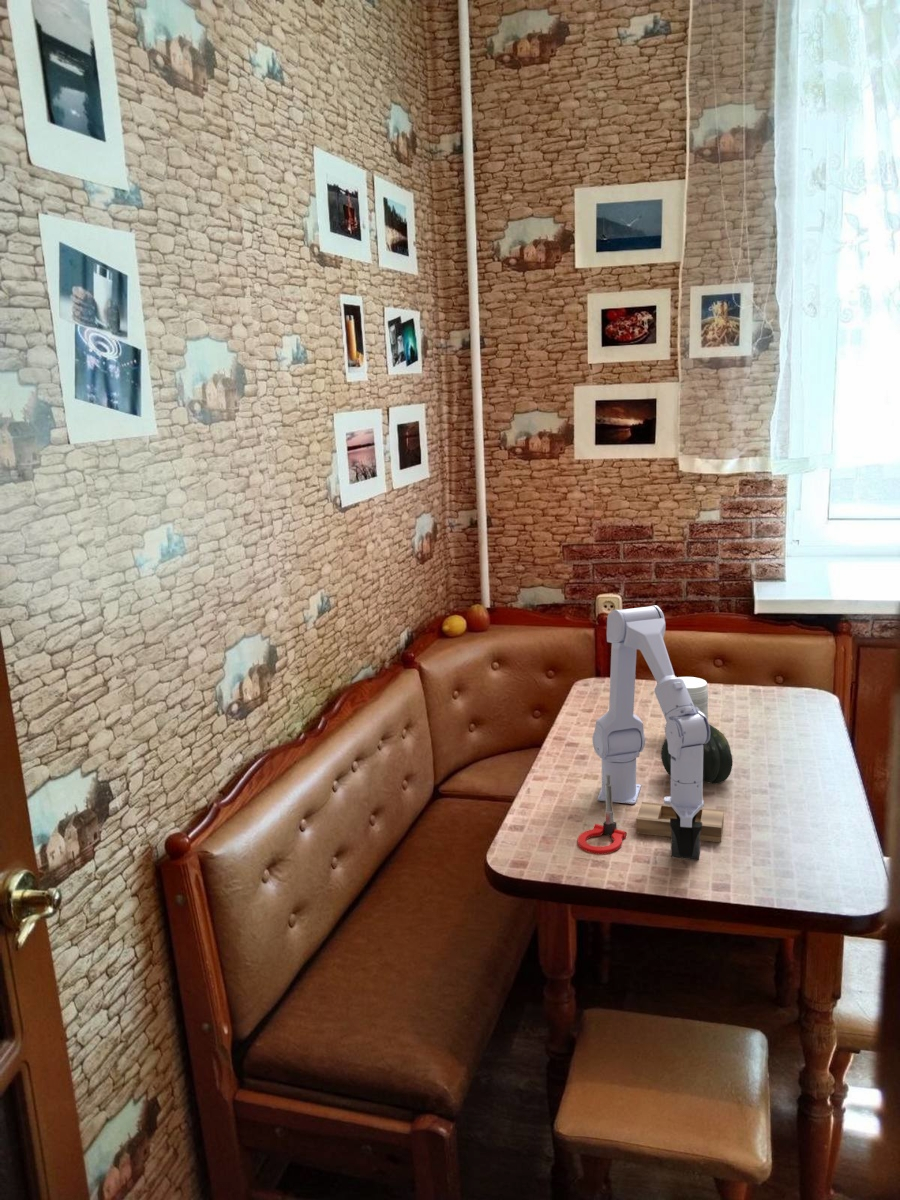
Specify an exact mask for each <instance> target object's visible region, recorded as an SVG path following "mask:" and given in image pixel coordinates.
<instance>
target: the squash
mask: <svg viewBox="0 0 900 1200" xmlns="http://www.w3.org/2000/svg"><path fill="white" fill-rule="evenodd" d="M709 726H710V739H709V741H708V742H707V743H706V744H702V745H703V783H709V784H712V785H713V784H714V785H717V784H721V783H723V782H725V781H726V780H728V778H729V777H730V776H731V772H732V770H733V769H732V768H733V762H734V761H733V755H732V750H731V746H730V744H729V741H728V739H727V738H726V736H725V735H724V734H723V732H721V731H720V730H719V729H718V728H716V727H715V726H713V725H712V724H710V723H709ZM660 758H661V763H662V765H663V768H664V770H665V771H666V774H667V775H668V776H669V777H670V778H671V755H670V754H669V751H668V742H667V739H666V738H665V739H664V742H663V744H662V746H661V753H660Z"/></svg>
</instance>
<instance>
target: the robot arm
mask: <svg viewBox="0 0 900 1200" xmlns="http://www.w3.org/2000/svg"><path fill="white" fill-rule="evenodd" d="M665 633H666V618H665V615H664V612H663V611H662V609H661V608H660V607H659V606H658V605H650V606H641V607H634V608H623V609H613V610H612V611H610V612H609V613H608V614H607V619H606V642H607V643H611V650H610V651H611V653H610V655H611V656H610V674H609V675H610V677H609V679H610V681H609V700H608V701H609V702H608V703H609V704H608V711H607V712H606V713H604V714H603V715H602V716H600V717H599V718H598V719H597V720H596V721H595V726H594V731H593V734H592V747H593V750H594V752H595V754H596V755H597V756H598V757H599V758H600V759H601V788H600V791H599V793H598V796H597V797H596V800H597V801H598V802H599V801H600V802H606V792H605V784H606V774H610V784H611V788H612V803H620V804H631V805H635V804H637V800H638V797H639V794H640V790H641V788H642V785H641V784H640V783H637V758H640V753H641V752H643V751H644V748H645V746H646V737H645V735H646V734H645V733H644V732H645V731H644V722H643V721H642V720H641V718H640V717H639V716H638V715H636V714H635V712H634V710H635V709H634V708H635V689H636V671H637V670H636V668H637V667H636V666H637V650H639V651H640V653H641V655H642V656H643V658H644V660H645V662H646V664H647V666H648V668H649V670H650V671H651V673H652V675H653V678H654V679H655V681H656V686H655V688H654V690H653V691H654V694H655V696H656V699H657V701H658V704H659V706H660V709H661V712H662V715H663V716H664V719H665V722H666V723H665V727H664V733H665V739H667V742H668V751H669V754H670V755H671V777H670V796H664V797H663V804H668V805H671V807H672V808H673V809H674V810H675V813H676V816H677V819H673V818H670V826H671V828H672V830H673V832H674V834H675V836H676V840H677V845H678V851H679V854H680V856H683V857H692V854H693V850H694V845H695V841H696V838H697V835H698V834H699V832H700V831H701V828H702V822H695V819H696V816H697V813H698V811H699V810H700V809H701V808H704V805H705V803H704V799H703V793H704V792H703V789H704V788H703V787H704V786H703V785H704V782H703V745H702V744H706V743H707V742H708V741H709V739H710V726H709V724H710V723H709V719H708V720H707V717H706V716H705V715H704V714H703V713H702V712H701V711H700V710H699V708H698V707H694V704H693V702H692V700H691V697H690V695H689V693H688V690H687V688H686V685H685V683H684V681H683V680H682V679H680V678H678V677H679V676H678V677H677V676H676V675H675V671H674V669H673V665H672V662H671V660H670V656H669V653H668V650H667V647H666V642H665V640H664V638H665V637H664V636H665Z"/></svg>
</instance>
